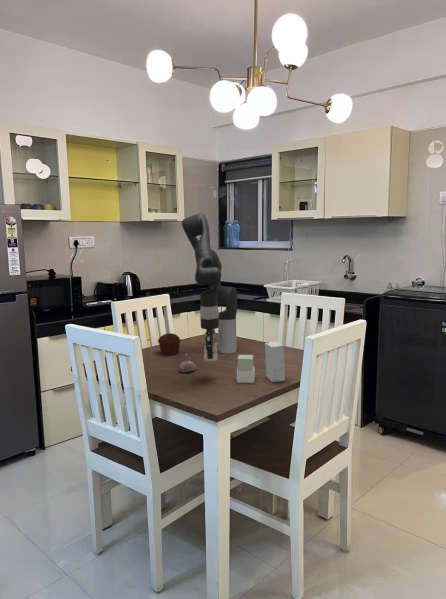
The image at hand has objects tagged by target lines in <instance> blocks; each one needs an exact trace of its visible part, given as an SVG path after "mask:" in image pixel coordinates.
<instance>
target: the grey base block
mask: <svg viewBox="0 0 446 599" xmlns="http://www.w3.org/2000/svg"><path fill="white" fill-rule="evenodd" d="M255 369H256V367H255V366H254V365H253V371H238V367H237V369H236V383H237V384H239V383H240V384H241V383H245V384H247V383H248V384H255V378H256V377H255V375H256V370H255Z"/></svg>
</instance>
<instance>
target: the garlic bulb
mask: <svg viewBox="0 0 446 599" xmlns="http://www.w3.org/2000/svg"><path fill="white" fill-rule="evenodd" d="M185 359H186V360H185V361H182V362H181V363H180V364H179V366H178V369H179V371H180V372H181V373H182V374H185V373H189V372H191V371H195V370H196V369H197V365H196V364H195V363H194V362H193V361H191V360H190V358H189V356H188V353H185Z"/></svg>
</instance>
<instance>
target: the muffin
mask: <svg viewBox="0 0 446 599" xmlns="http://www.w3.org/2000/svg"><path fill="white" fill-rule="evenodd" d="M181 341H182V340H181V338H180V337H179V335H177V334H175V333H172V332H171V333H170V332H169V333H164V334H162V335H161V336H160V337H159V338H158V340H157V342H158V344H159V349H160V354H161V355H163V356H165V357H166V356H168V357H169V356H170V357H171V356H176V355H178V354H179V353H180V352H179V350H180V343H181Z"/></svg>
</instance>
